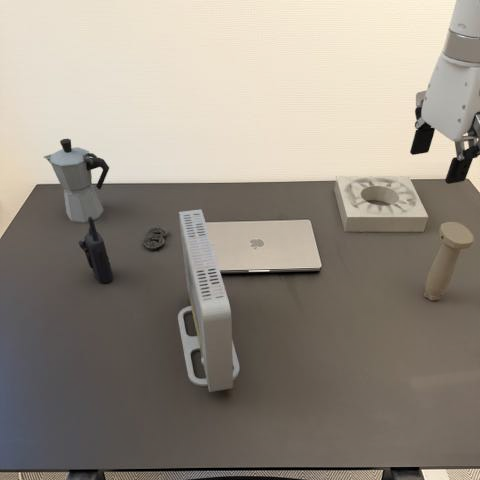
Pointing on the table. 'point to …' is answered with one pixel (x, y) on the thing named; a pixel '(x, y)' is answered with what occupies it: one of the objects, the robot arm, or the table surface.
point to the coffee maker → (78, 180)
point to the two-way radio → (96, 254)
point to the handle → (446, 257)
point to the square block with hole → (374, 216)
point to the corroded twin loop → (155, 237)
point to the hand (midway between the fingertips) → (436, 166)
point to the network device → (206, 308)
